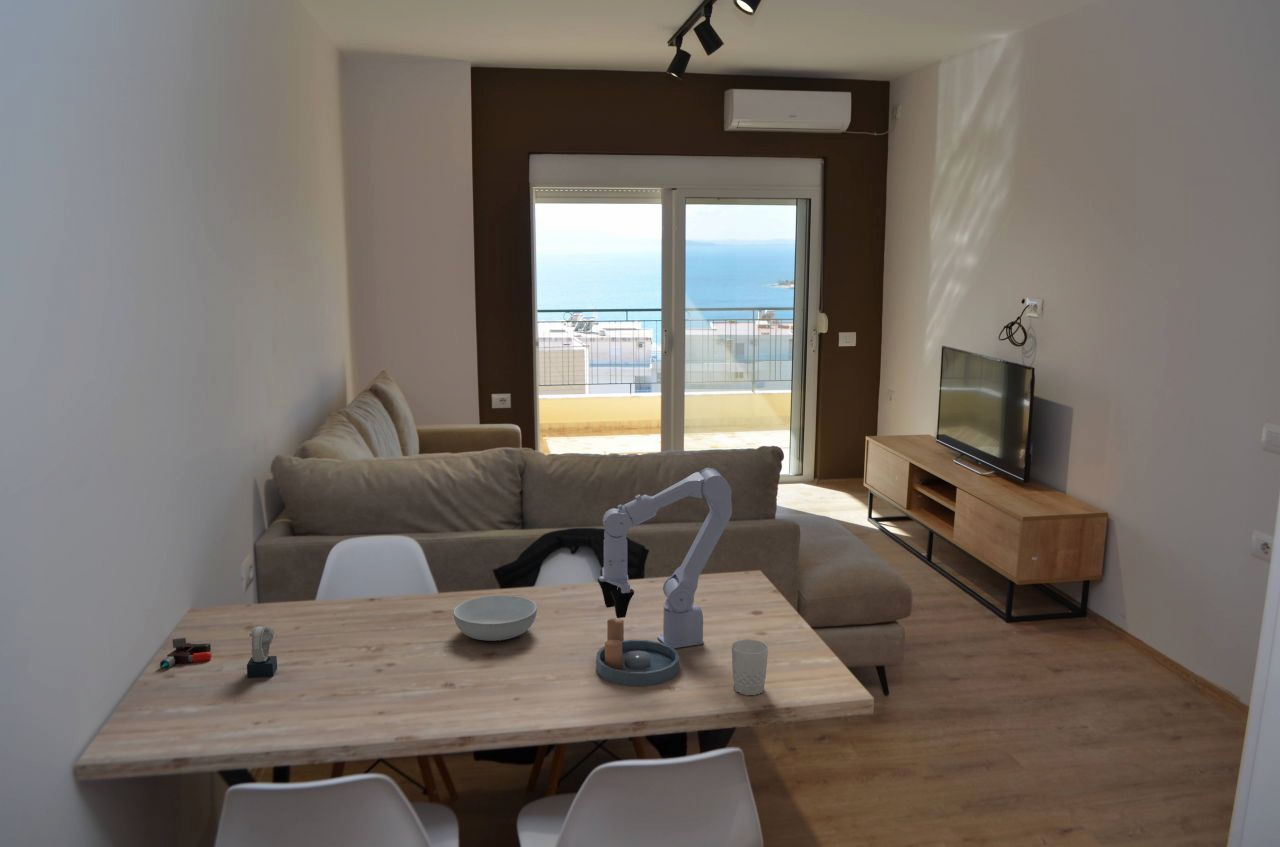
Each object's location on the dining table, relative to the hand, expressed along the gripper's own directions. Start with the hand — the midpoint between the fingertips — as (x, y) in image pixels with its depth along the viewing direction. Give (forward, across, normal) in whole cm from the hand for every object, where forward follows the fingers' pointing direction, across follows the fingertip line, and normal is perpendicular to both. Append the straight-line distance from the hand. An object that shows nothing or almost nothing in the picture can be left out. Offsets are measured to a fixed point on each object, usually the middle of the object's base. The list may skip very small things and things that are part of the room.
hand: (615, 611), depth 233 cm
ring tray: (+8, +15, 0) cm, 17 cm away
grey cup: (+9, +34, +19) cm, 40 cm away
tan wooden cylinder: (+7, +15, -6) cm, 18 cm away
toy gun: (+9, -27, -97) cm, 101 cm away
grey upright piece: (+9, -14, -81) cm, 83 cm away
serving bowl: (+9, -17, -26) cm, 32 cm away
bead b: (+8, 0, 0) cm, 8 cm away
